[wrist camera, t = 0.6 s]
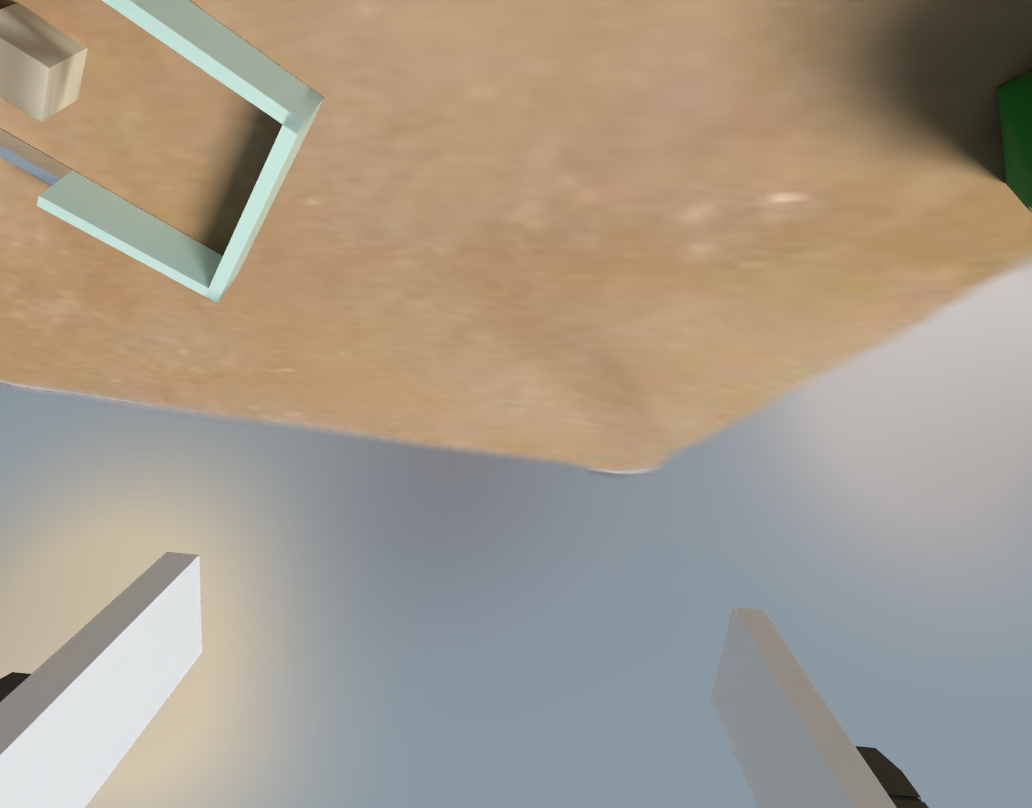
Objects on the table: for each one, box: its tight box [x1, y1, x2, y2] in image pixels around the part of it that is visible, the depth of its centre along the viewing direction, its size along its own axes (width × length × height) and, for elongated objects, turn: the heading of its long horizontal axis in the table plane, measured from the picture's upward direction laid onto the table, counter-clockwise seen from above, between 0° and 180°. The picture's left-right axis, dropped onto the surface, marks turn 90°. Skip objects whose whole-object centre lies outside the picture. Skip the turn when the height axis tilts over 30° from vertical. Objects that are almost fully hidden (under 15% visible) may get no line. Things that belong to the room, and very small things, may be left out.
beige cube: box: [0, 3, 87, 122], centre depth 37 cm, size 4×4×4 cm
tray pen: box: [37, 0, 324, 303], centre depth 41 cm, size 13×18×4 cm
